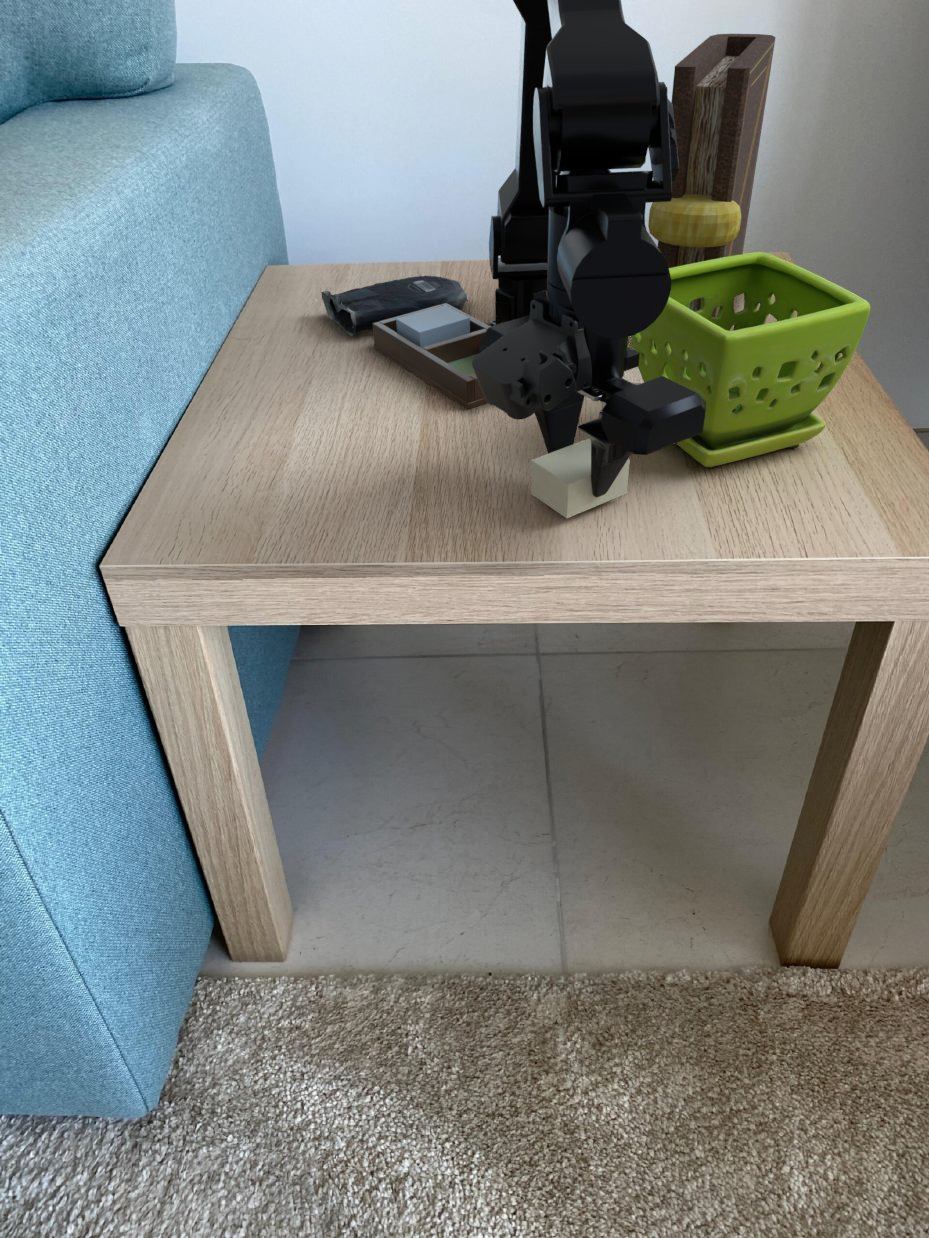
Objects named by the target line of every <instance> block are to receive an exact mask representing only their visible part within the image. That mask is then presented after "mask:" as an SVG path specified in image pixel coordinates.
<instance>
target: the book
mask: <svg viewBox="0 0 929 1238" xmlns="http://www.w3.org/2000/svg"><path fill="white" fill-rule="evenodd" d="M775 43H776V36H774V35H773V34H764V33H763V34H761V33H717V34H713V35H709V37H707V38H706V39H704V40H703V42H701V43H700V44H699V45H697V46H696V47H695V48H694V49H693V50H692V51H691V52H689V53H688V54H687V55H686V56H685V57H684V58H683V59H682V60H680V61H679V62H677V64H675V66H674V73H673V82H672V92H671V93H672V94H671V101H670V102H671V103H672V105H673V112H674V121H675V131H676V141H677V151H678V160H679V171H678V174H677V177H676V179H675V181H672V199H671V202H651V205H650V207H649V211H648V212H649V213H648V222H647V223H648V224H647V225H648V233H649V235H650V236H652V237H653V238H654V239H655V240H656V241H657V247H658V248H659V250H660V251H661V253H662V255H663V256H664V258H665V260H666V262H667V264H668V267H669V268H673V267H678V266H682V265H687V264H692V263H697V262H702V261H707V260H713V259H718V258H723V257H729V256H735V255H741V254H744V248H745V240H746V234H747V226H748V220H749V214H750V207H751V201H752V195H753V194H752V193H753V187H754V182H755V174H756V168H757V162H758V161H757V160H758V156H759V148H760V142H761V135H762V130H763V129H762V128H763V123H764V116H765V109H766V102H767V96H768V90H769V83H770V76H771V70H772V64H773V57H774V49H775V45H776V44H775ZM735 298H736V297H734V299H735ZM700 308H701V298H699V299H696V300H693V301H691V303H690V306H689V309H690V310H692V311H694V312H695V311H698V310H700ZM719 308H720V307H715V308H714V311H713V313H712V317H716V316H717V314H718V311H719Z"/></svg>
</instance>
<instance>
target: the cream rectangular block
mask: <svg viewBox="0 0 929 1238" xmlns="http://www.w3.org/2000/svg"><path fill="white" fill-rule="evenodd" d="M630 463H631V460H630V458H628V460H627V461H626V463H625V465H624V466H623V468H622V469H621V471H620V473H619V474H618V476H617V477H616V479H615V480H614V482H613V484H612V485H611V487H610V488H609V490H608V491H607V493H606V494H604V495H602V496H600V497H595V496H593V493H592V484H591V440H590V438H588V437H587V438H586V439H584V440H581V441H578V442H574V444H573V445H570V446H567V447H565V448H562V449H559V450H557V451H554V452H551V453H549V454H548V453H546V454H544V455H540V456H538V457H536V458H532V459H531V461H530V466H531V467H530V494H531V495H532V496H533V497H535V498H537V499H538V500H540V502H542V503H544V504H545V505H546V506H548V507H549V508H551V509H552V510H553V511H555V512H556V513H558V514H559V515H560V516H561V517H564V518H565V519H569V518H571V517H574V516H577V515H579V514H581V513H583V512H586V511H588V510H591V509H593V508H595V507H597V506H601V505H603V504H605V503H608V502H610V501H613V500H615V499H617V498H619V497H622V496H624V495H626V494H627V493H628V485H629V472H630V465H631V464H630Z"/></svg>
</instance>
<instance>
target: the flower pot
mask: <svg viewBox="0 0 929 1238" xmlns="http://www.w3.org/2000/svg"><path fill="white" fill-rule="evenodd" d="M669 272H670V276H671V291H670V295H669V299H668V302H667V304H666V306H665V308H664V310H663V312H662V313H661V314H660V316H659V317H658V318H657V319H656V320H655V322H654V323H652V324H651V325H650V326H649V327H647V328H646V329H645V330H643V331H641V332H639V333H637V334H635V335H633V336H630V340H631V344H632V349H633V350H635V351H637V352H639V353H640V356H639V367H637V368H638V371H639V373H640V376H641V378H642V381H643V383H644V382H647V381H650V380H653V379H655V378H658V377H661V376H663V377H666V378H668V379H670V380H672V381H674V382H676V383H678V384H680V385H682V386H684V387H686V388H688V389H690V390H692V391H694V392H696V393H698V394H699V395H700V396H701V397H702V398H703V399H704V400H705V402H706V412H705V419H704V426H703V433H700V434H698V435H695V436H693V437H690V438H688V439H685V440H683V441H680V442H678V443H675V445H677V446H678V447H679V448H680V449H681V450H683V451H684V452H686V453H687V454H688V455H689V456H691V457H692V458H693V459H694V460H695V461H697V462H698V463H699V464H700V465H702V466H703V468H709V469H710V468H711V469H712V468H715V467H716V466H722V465H724V464H728V463H733V462H737V461H742V460H746V459H749V458H753V457H756V456H760V455H761V456H762V455H765V454H768V453H771V452H775V451H779V450H783V449H786V448H790V449H796V448H799V446H800V445H801V444H803V443H806V442H807V441H809V440H812V439H813V438H815V437H816V436H818V435H819V434H821V433H822V432H823V431H824V430H825V428H826V427H827V424H826V422H825V421H824V420H822V419H821V418H820V417H819V416H817V415H816V414H814V413H813V412H814V411H815V410H816V409H817V408H818V407H819V405H821V404H822V403H823V401H824V400H825V399H826V398H827V396H829V395H830V393H831V392H832V390H833V389H834V388H835V386H836V385H837V383H838V382H839V381H840V379H841V377H842V375H843V374H844V372H846V369H847V368H848V366H849V364H850V362H851V361H852V359H853V356H854V354H855V352H856V350H857V348H858V345H859V343H860V340H861V339H862V336H863V334H864V331H865V328H866V326H867V323H868V320H869V317H870V313H871V304H870V303H869V302H868V301H867V300H866V299H864V298H862V297H861V296H859V295H857V294H855V293H853V292H852V291H850V290H848V289H846V288H844V287H842V286H840V285H838V284H836V283H834V282H832V281H830V280H828V279H826V278H824V277H822V276H820V275H818V274H816V273H814V272H811V271H809V270H807V269H805V268H803V267H801V266H798V265H796V264H795V263H792V262H790V261H787V260H785V259H783V258H780V257H778V256H775V255H773V254H770V253H767V252H762V251H754V252H747V253H743V254H741V255H735V256H729V257H723V258H718V259H713V260H707V261H702V262H697V263H692V264H687V265H682V266H678V267H673V268H669ZM739 295H743V309H741V310H740V311H737V312H735V306H734V303H735V302H734V301H735V298H736V297H737V296H739ZM773 296H774V301H773ZM734 297H735V298H734ZM699 298H701V308H700V310H698V311H695V312H694V311H692V310H690V309H689V306H690V303H691V301H693V300H696V299H699ZM715 307H720V308H719V311H718V314H717V316H716V317H712V313H713V311H714V308H715ZM795 311H796V313H797V316H795V317H794V314H795ZM769 315H770V316H772V317H773V318H774V319H775V320H776V321H774V322H769V323H766V322H767V320H768V317H769ZM732 327H733V329H732ZM731 329H732V330H731ZM841 354H842V356H841ZM840 356H841V357H840ZM818 365H819V366H818Z"/></svg>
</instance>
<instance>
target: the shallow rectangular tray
mask: <svg viewBox="0 0 929 1238" xmlns="http://www.w3.org/2000/svg"><path fill="white" fill-rule="evenodd" d="M444 305H446V306H448V307H450V308H452V309H454V310H455V311H457V312H459V313H461V314H463V315H465V316H467V317H469V318H470V333H468V334H465V335H462V336H458V337H455V338H451V339H448V340H445V341H441V342H438V343H434V344H431V345H428V346H424V347H422V348H421V347H420V346H418V345H416V344H415V343H413V342H411V341H410V340H408V339H406V338H405V337H403V336H401V335H400V334H398V333H397V325H396V319H397V318H401V317H404V316H408V315H412V314H415V313H419V312H423V311H426V310H430V309H433V308H437V307H441V306H444ZM372 326H373V330H372V335H373V346H374V347H373V348H374V350H375V351H377V352H378V353H379V354H382V355H383V356H385V357H386V358H387V359H389V360H390V361H392V362H394V363H395V364H397V365H398V366H400V367H401V368H403V369H405V370H406V371H407V372H409V373H411V374H412V375H413V376H415V377H417V378H419V379H420V380H422V381H423V382H425V383H426V384H428V385H430V386H431V387H432V388H434V389H436V390H438V391H439V392H440V393H442V394H443V395H444V396H446V397H448V398H450V399H451V400H453V401H454V402H456V403H457V404H459V405H460V406H462V407H463V408H465V409H467V410H470V409H473V408H476V407H480V406H482V405H486V404H488V403H487V402H486V401H485V398H484V395H483V393H482V390H481V387H480V385H479V382H478V380H477V377H476V374H475V372H474V369H473V367H472V361H473V359H474V358H475V357H476V356H477V355H478V354H479V341H480V340H481V338H482V337H483V335H484V334H485V332H486V331H487V329H488V328H489V327H491V326H490V324H487V323H486V322H483V321H481V320H479V319H477V318H476V317H474V316H472V315H470V314H468V313H466V312H464V311H462V310H459V309H457V308H455V307H453V306H451V305H449V304H447V303H444V304H441V305H437V306H433V307H429V308H426V309H422V310H419V311H415V312H411V313H408V314H404V315H400V316H397V317H393V318H390V319H386V320H382V321H379V322H376V323H373V324H372Z"/></svg>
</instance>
